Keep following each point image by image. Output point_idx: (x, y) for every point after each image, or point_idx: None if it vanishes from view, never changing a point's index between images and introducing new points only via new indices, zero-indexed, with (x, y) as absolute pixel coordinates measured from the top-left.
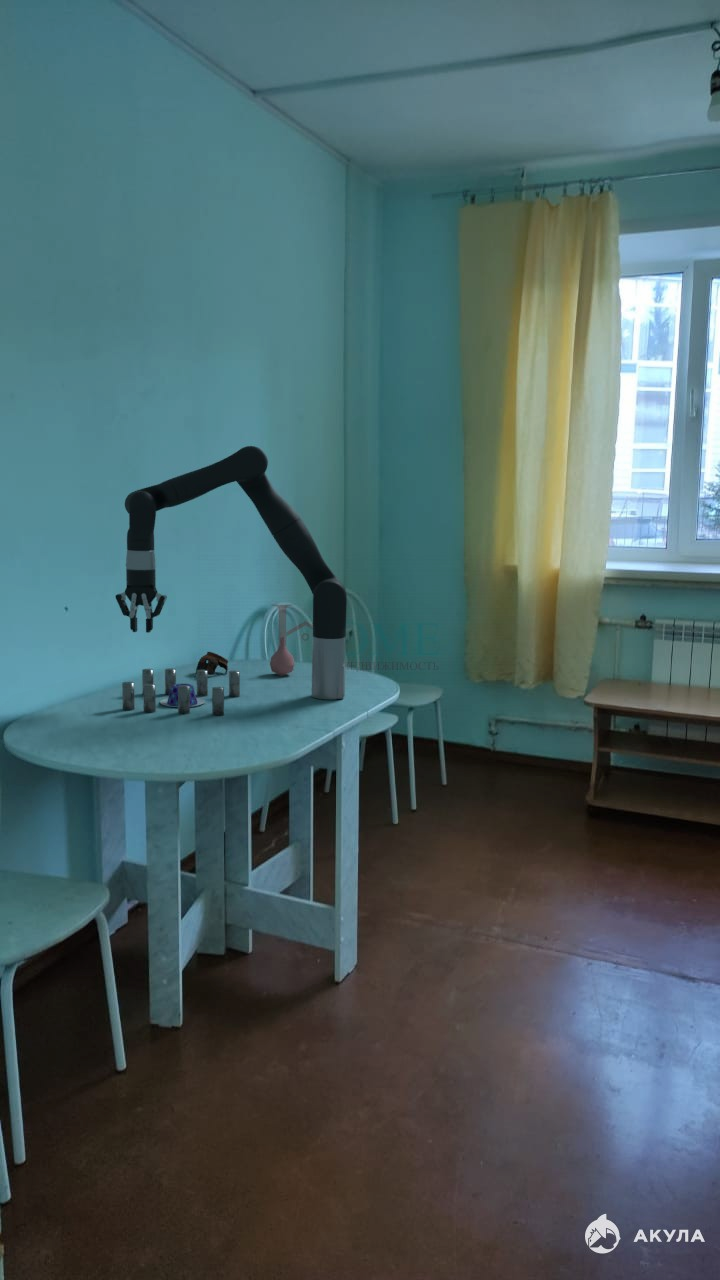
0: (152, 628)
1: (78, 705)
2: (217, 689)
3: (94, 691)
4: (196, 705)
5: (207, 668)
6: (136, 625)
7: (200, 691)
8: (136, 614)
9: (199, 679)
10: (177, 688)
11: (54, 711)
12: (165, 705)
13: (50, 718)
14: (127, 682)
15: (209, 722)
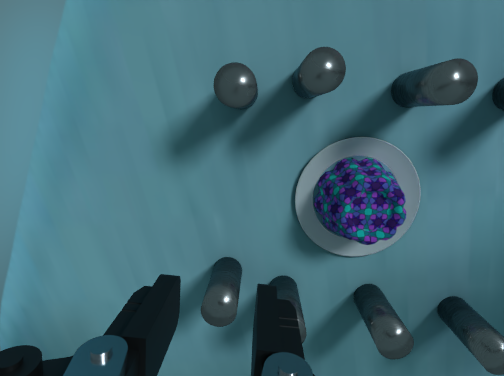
0: (293, 312)
1: (95, 239)
2: (497, 373)
3: (73, 64)
4: (397, 239)
5: None
6: (167, 315)
7: (410, 106)
8: (125, 360)
9: (427, 103)
10: (358, 239)
11: (65, 299)
12: (315, 241)
13: None
14: (215, 305)
15: (430, 372)
